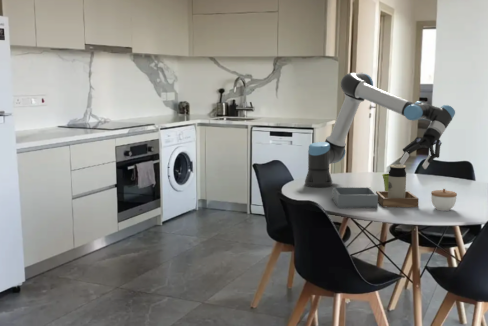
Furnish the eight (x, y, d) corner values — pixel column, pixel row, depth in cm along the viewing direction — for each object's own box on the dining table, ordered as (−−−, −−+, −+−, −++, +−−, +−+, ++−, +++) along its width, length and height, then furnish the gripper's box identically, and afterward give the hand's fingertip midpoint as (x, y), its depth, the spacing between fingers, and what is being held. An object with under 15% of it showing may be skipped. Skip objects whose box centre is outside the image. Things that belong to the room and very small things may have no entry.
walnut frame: (375, 199, 262) (375, 191, 261) (408, 199, 262) (408, 191, 261) (383, 206, 246) (383, 198, 246) (418, 207, 246) (418, 198, 245)
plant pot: (400, 193, 275) (401, 176, 274) (382, 192, 277) (382, 176, 276) (399, 189, 284) (400, 173, 283) (381, 189, 286) (381, 173, 285)
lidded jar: (426, 206, 246) (427, 186, 245) (449, 206, 247) (450, 186, 246) (436, 212, 236) (437, 191, 234) (460, 211, 237) (461, 191, 235)
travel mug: (403, 201, 257) (404, 164, 255) (406, 205, 250) (408, 167, 247) (386, 201, 258) (387, 164, 255) (389, 204, 250) (390, 166, 248)
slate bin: (332, 199, 263) (332, 187, 262) (369, 199, 262) (369, 187, 261) (338, 207, 245) (338, 195, 244) (377, 207, 244) (378, 195, 243)
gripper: (459, 139, 253) (437, 174, 247) (416, 135, 274) (395, 167, 268) (453, 129, 249) (430, 163, 243) (410, 125, 270) (388, 157, 264)
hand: (412, 165), depth 256 cm, fingers open, 13 cm apart
